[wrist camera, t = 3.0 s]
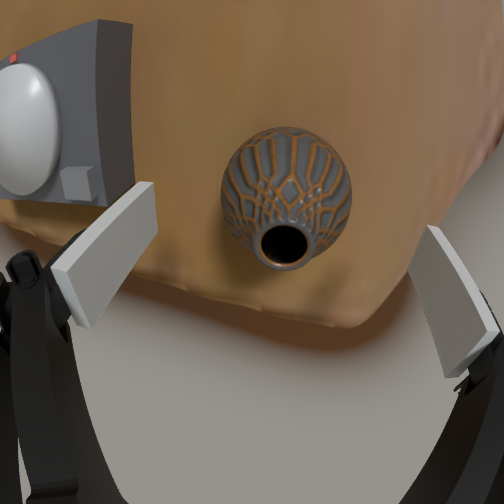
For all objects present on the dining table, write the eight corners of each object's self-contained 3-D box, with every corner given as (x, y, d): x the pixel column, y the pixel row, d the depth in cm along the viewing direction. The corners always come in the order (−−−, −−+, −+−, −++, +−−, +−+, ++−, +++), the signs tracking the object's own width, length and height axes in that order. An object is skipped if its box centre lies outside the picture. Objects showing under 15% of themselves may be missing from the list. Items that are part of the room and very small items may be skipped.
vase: (269, 97, 15) (251, 119, 8) (360, 159, 16) (407, 230, 9) (217, 183, 19) (171, 263, 12) (300, 232, 20) (301, 328, 13)
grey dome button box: (14, 179, 20) (-18, 203, 16) (1, 70, 13) (-38, 83, 9) (135, 182, 19) (99, 214, 15) (132, 24, 12) (86, 18, 8)
